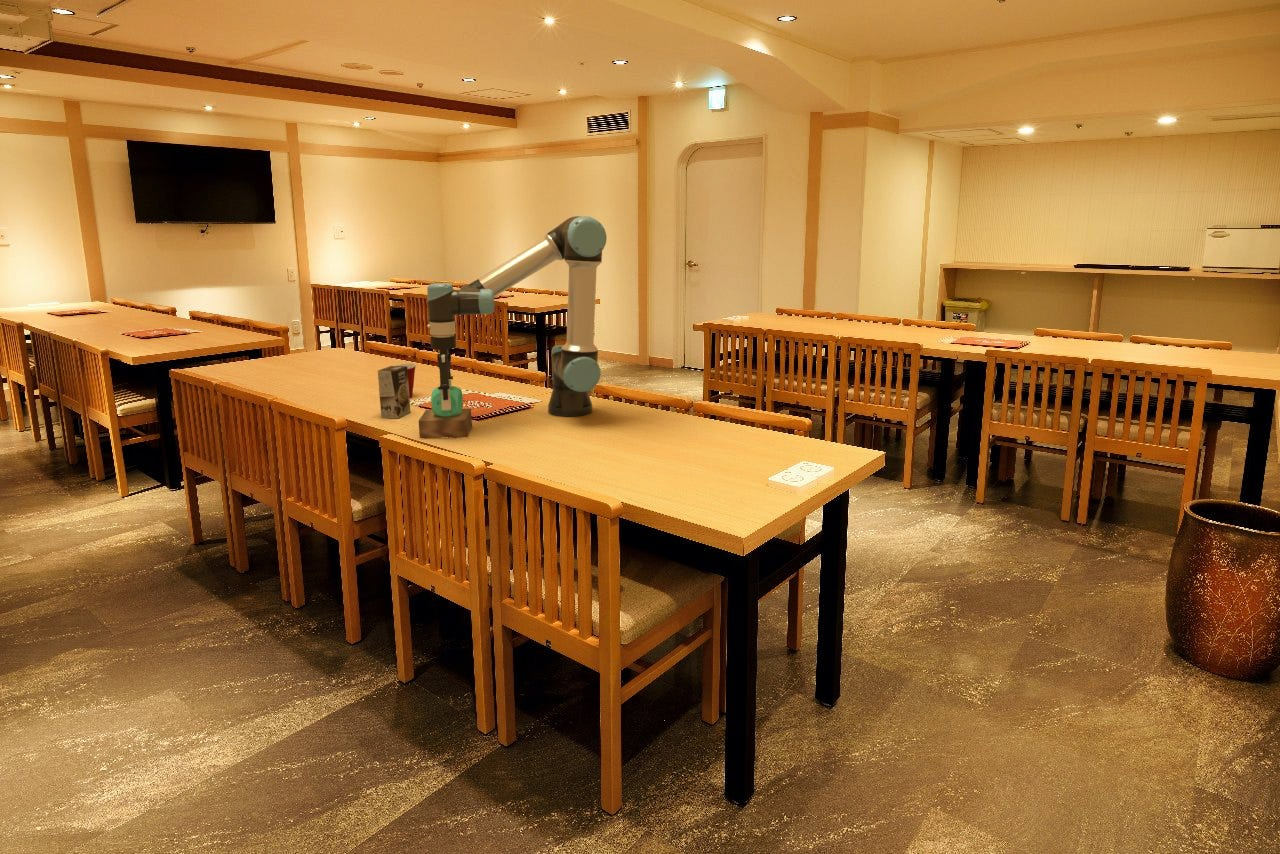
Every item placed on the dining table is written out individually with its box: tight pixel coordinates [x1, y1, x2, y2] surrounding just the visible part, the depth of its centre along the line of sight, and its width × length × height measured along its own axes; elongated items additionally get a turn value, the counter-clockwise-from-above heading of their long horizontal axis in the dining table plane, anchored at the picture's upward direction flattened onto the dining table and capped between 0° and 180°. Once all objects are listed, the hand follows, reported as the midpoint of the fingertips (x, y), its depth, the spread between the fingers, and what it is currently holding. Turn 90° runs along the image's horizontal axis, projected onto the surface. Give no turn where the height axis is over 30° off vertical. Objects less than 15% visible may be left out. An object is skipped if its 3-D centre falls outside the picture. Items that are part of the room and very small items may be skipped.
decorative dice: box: [430, 385, 464, 417], centre depth 244 cm, size 8×8×8 cm
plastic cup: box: [391, 362, 417, 399], centre depth 290 cm, size 11×11×12 cm
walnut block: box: [418, 408, 473, 439], centre depth 245 cm, size 14×14×6 cm
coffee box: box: [377, 365, 412, 419], centre depth 264 cm, size 9×6×16 cm
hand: (447, 405), depth 245 cm, fingers open, 12 cm apart
